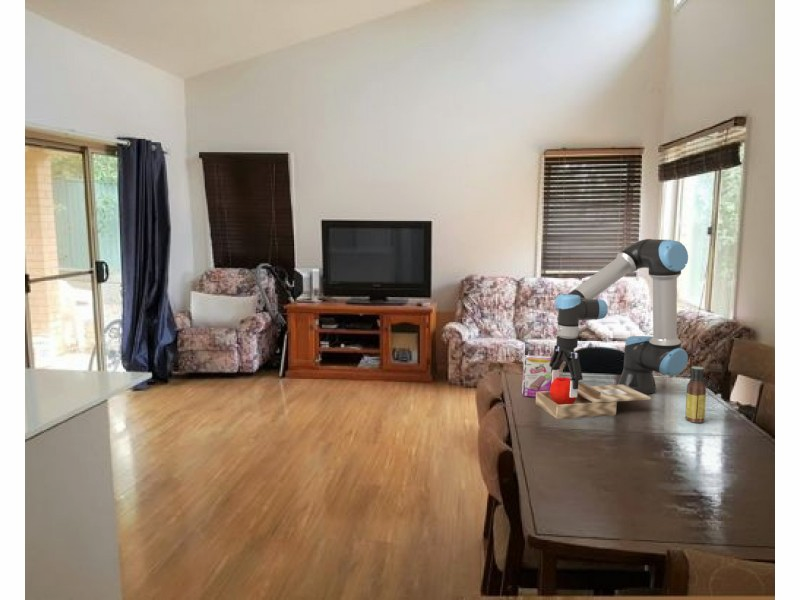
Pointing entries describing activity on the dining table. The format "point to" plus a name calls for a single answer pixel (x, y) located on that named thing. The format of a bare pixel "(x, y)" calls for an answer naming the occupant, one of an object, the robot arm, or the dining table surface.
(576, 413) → the wooden box
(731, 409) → the dining table surface
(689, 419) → the sauce bottle
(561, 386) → the apple
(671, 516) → the dining table surface
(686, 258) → the robot arm
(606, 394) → the lid
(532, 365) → the candy bar box
